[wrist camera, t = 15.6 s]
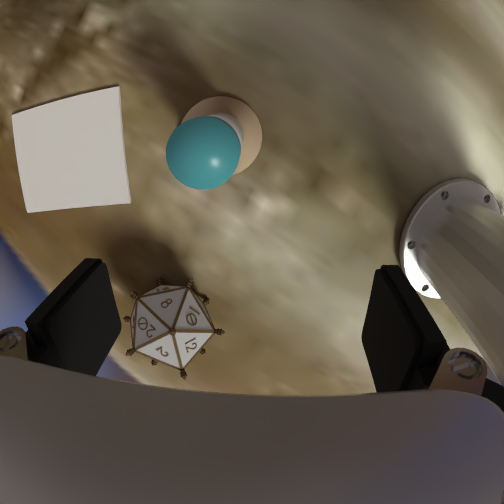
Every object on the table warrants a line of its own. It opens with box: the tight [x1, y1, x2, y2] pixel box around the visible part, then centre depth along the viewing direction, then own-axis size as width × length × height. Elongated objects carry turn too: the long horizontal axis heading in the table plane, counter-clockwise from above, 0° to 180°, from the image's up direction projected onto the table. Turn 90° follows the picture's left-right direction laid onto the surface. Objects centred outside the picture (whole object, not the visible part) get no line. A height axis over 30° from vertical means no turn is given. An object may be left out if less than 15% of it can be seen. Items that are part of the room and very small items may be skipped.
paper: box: [12, 86, 131, 213], centre depth 24 cm, size 12×10×1 cm
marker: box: [166, 113, 244, 189], centre depth 19 cm, size 4×4×9 cm
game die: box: [123, 277, 226, 380], centre depth 27 cm, size 9×8×10 cm
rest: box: [181, 96, 262, 175], centre depth 24 cm, size 6×6×1 cm
